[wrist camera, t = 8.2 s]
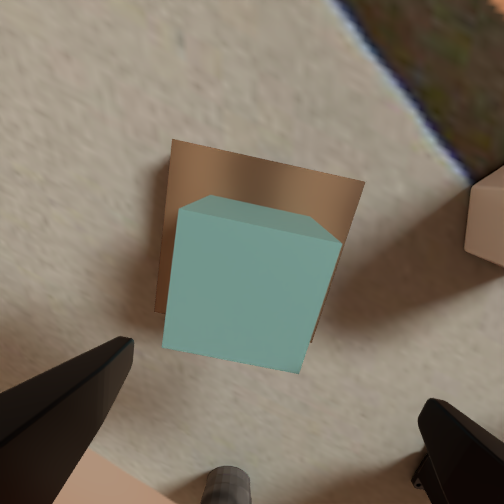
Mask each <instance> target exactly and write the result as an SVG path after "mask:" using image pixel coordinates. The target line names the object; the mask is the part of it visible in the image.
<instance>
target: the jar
mask: <svg viewBox="0 0 504 504" xmlns="http://www.w3.org/2000/svg"><path fill="white" fill-rule="evenodd" d="M464 250H465V251H466V252H468V253H470V254H472V255H475V256H477V257H479V258H482V259H484V260H486V261H489V262H491V263H493V264H496V265H498V266H500V267H503V268H504V166H502V167H501V168H499V169H498V170H496V171H494V172H493V173H491V174H490V175H488V176H487V177H485V178H484V179H482V180H481V181H479V182H478V183H476V184H475V185H473V186H472V187H471V193H470V201H469V210H468V219H467V227H466V236H465V245H464Z"/></svg>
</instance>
